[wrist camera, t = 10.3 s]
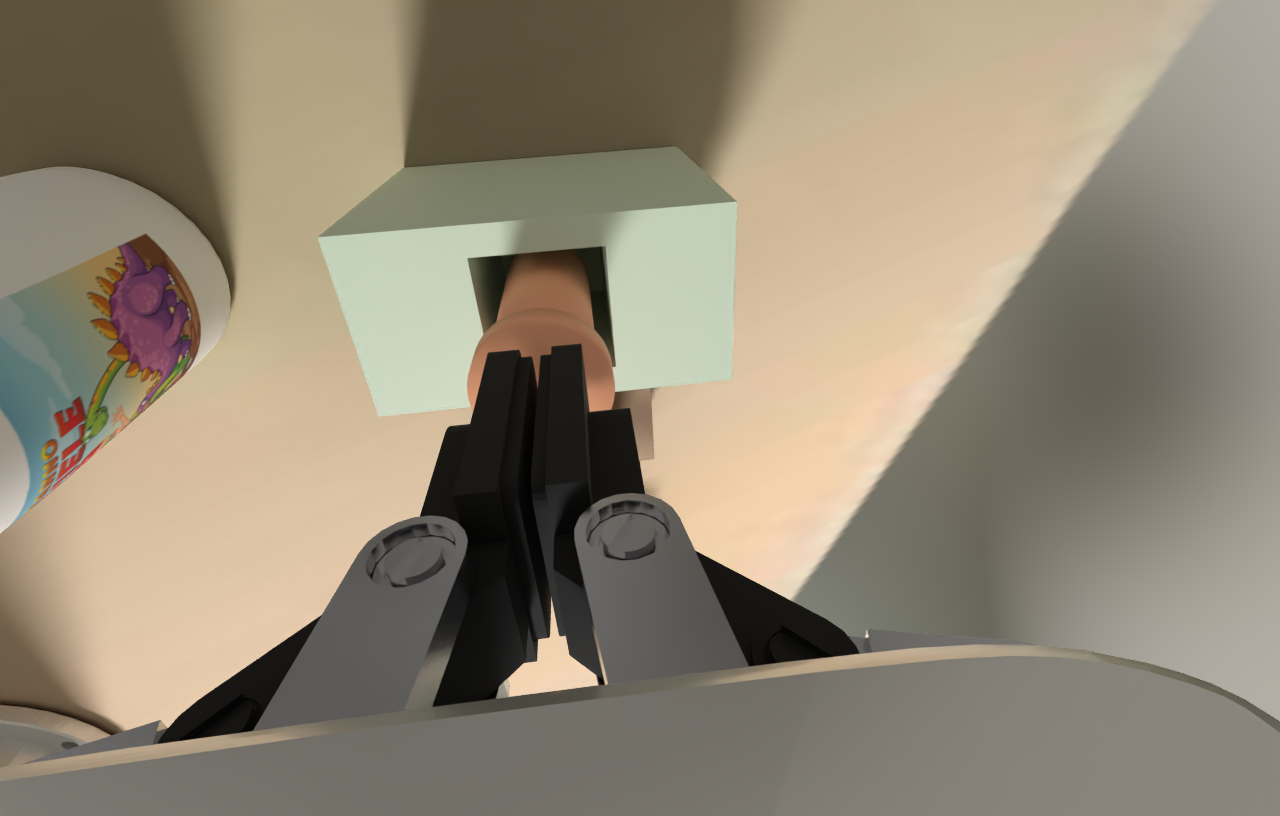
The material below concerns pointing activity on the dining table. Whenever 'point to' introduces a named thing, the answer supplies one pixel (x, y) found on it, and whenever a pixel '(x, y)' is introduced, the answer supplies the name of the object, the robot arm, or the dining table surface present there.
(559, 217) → the cabinet
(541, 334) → the gauge plunger
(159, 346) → the milk bottle
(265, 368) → the dining table surface
